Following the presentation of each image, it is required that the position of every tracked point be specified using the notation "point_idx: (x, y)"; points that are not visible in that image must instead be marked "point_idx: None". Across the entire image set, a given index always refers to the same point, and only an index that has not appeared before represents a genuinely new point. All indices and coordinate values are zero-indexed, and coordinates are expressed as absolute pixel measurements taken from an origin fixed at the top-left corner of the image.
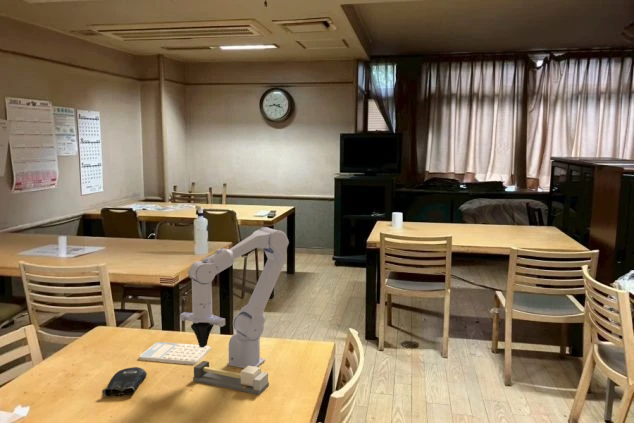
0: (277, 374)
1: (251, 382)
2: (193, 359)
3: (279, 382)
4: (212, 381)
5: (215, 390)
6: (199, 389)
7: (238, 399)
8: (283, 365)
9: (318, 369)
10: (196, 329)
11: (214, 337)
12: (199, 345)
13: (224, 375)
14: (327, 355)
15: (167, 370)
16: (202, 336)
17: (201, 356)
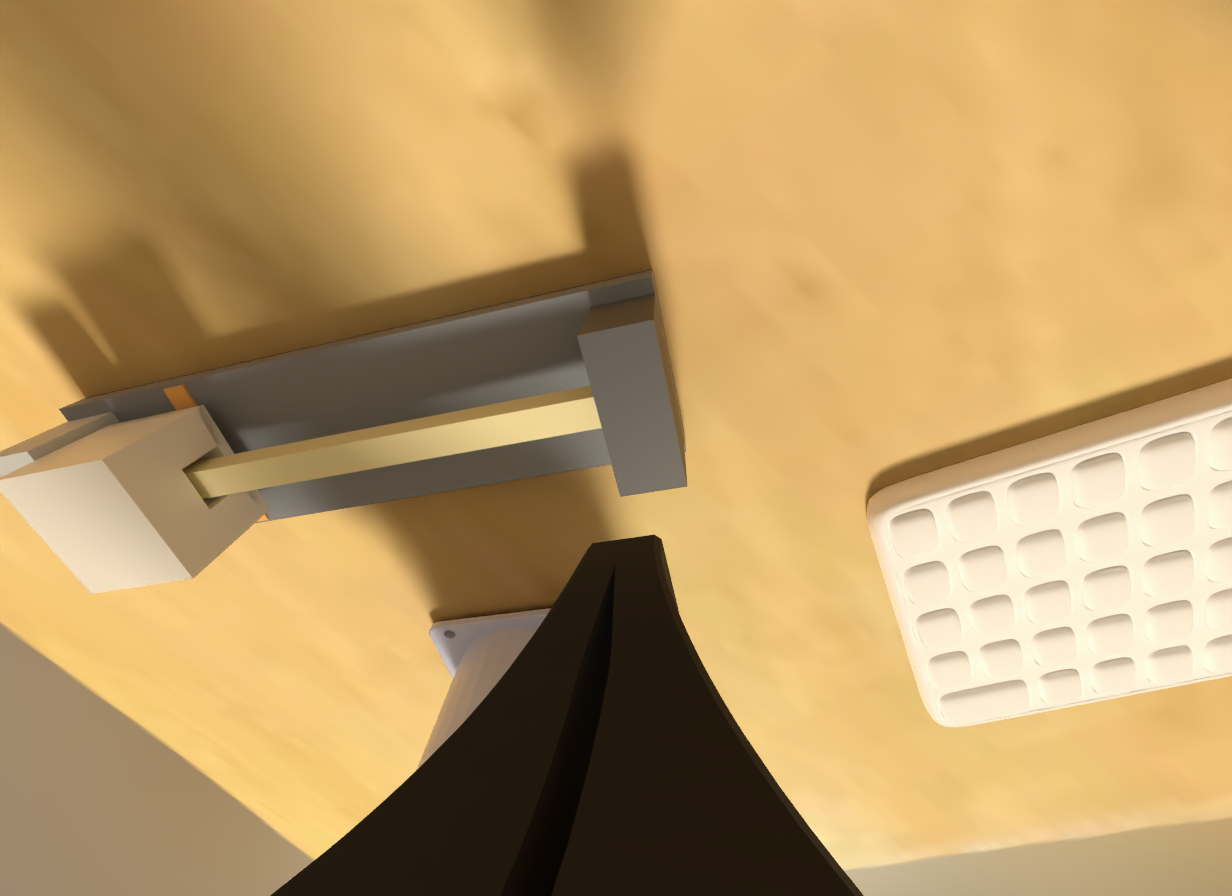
0: (287, 644)
1: (90, 437)
2: (908, 526)
3: (183, 583)
4: (443, 325)
5: (350, 257)
6: (466, 178)
7: (92, 255)
8: (364, 726)
9: (206, 758)
10: (600, 864)
11: (1017, 817)
12: (645, 546)
13: (466, 459)
14: (314, 856)
15: (1048, 280)
16: (506, 694)
17: (893, 599)
